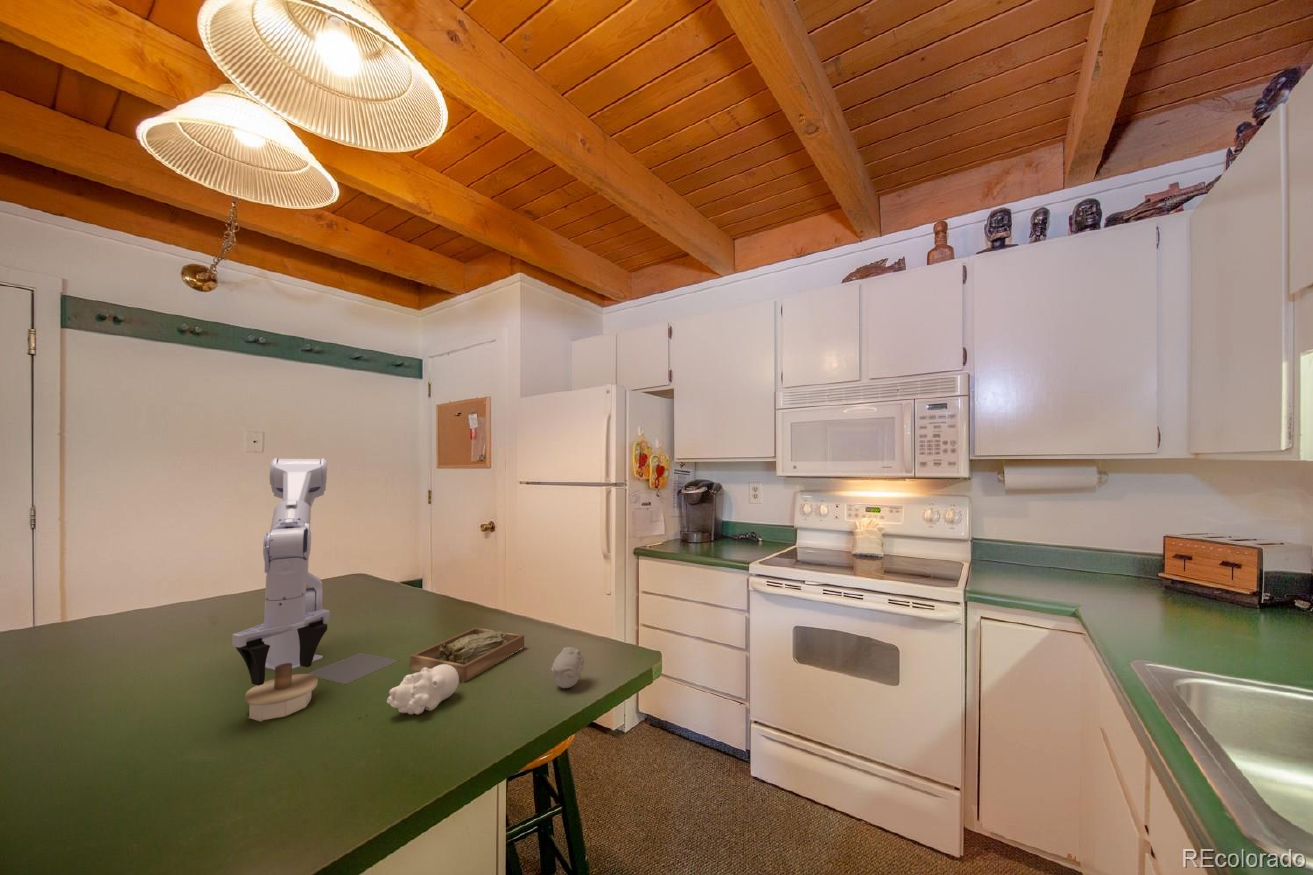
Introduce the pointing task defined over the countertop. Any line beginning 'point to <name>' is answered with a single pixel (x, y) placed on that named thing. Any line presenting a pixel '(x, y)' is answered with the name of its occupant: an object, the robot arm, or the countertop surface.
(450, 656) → the dried leaf bundle
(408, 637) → the countertop surface
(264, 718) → the bowl
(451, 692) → the figurine
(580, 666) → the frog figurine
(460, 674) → the frame
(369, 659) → the mat
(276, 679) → the lid
